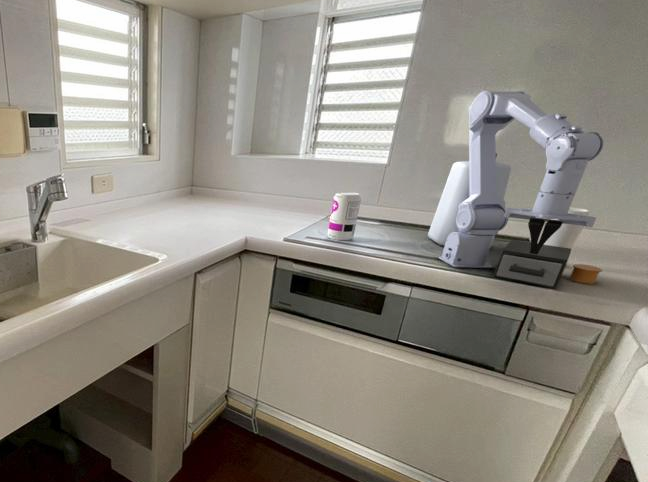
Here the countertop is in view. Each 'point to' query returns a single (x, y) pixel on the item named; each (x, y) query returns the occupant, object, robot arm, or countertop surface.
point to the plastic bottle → (460, 198)
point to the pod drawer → (529, 269)
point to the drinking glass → (567, 231)
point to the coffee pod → (585, 273)
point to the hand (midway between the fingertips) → (533, 252)
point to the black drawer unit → (544, 253)
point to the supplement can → (344, 215)
